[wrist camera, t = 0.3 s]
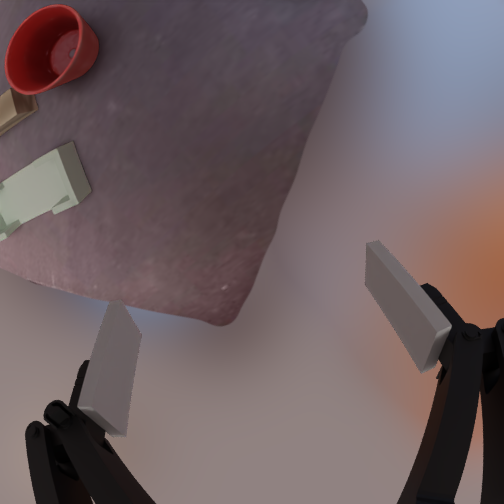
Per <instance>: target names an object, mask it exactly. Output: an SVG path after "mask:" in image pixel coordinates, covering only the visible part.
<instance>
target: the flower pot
mask: <svg viewBox="0 0 504 504" xmlns="http://www.w3.org/2000/svg"><path fill="white" fill-rule="evenodd" d="M98 51H99V42H98V38H97V36H96V35H95V33H94V32H93V30H92V29H91V28H90V26H89V25H88V24H87V23H86V21H85V20H84V19H83V18H82V17H81V15H80V14H79V13H78V12H77V11H76V10H75V9H73V8H72V7H70V6H67V5H63V4H55V5H49V6H46V7H43V8H41V9H39V10H37V11H35V12H34V13H32V14H31V15H30V16H29V17H27V18H26V19H25V20H24V21H23V22H22V24H21V25H20V26H19V27H18V29H17V30H16V32H15V33H14V35H13V37H12V38H11V40H10V43H9V45H8V48H7V51H6V56H5V73H6V77H7V80H8V82H9V84H10V85H11V87H12V88H13V89H14V90H16V91H17V92H19V93H21V94H25V95H34V94H39V93H42V92H45V91H47V90H50V89H52V88H55V87H57V86H60V85H62V84H64V83H67V82H69V81H71V80H74V79H76V78H78V77H80V76H82V75H83V74H85V73H86V72H87V71H88V70H89V69H90V68H91V67H92V65H93V64H94V62H95V60H96V58H97V55H98Z"/></svg>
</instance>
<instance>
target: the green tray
mask: <svg viewBox="0 0 504 504" xmlns="http://www.w3.org/2000/svg"><path fill="white" fill-rule="evenodd" d="M91 191H92V190H91V187H90V185H89V182H88V180H87V177H86V175H85V172H84V170H83V167H82V164H81V162H80V159H79V156H78V154H77V151H76V148H75V145H74V142H73V141H71V142H69V143H67V144H65V145H62V146H60V147H58V148H56V149H54V150H52V151H51V152H49V153H47V154H45V155H44V156H42V157H40V158H38V159H37V160H35V161H33V163H31V164H30V165H28V166H27V167H25V168H23V169H22V170H20V171H18V172H17V173H15V174H14V175H12V176H11V177H9V178H8V179H6V180H5V181H3V182H2V183H0V241H2V240H4V239H6V238H7V237H8V236H9V235H11V234H12V233H13V232H14V231H15V230H16V229H17V228H18V227H19V226H20V225H21V224H23V223H25V222H27V221H29V220H31V219H33V218H35V217H37V216H39V215H41V214H43V213H45V212H47V211H49V210H51V209H52V211H53V213H54V215H55V214H57V213H59V212H61V211H64V210H66V209H68V208H70V207H73V206H75V205H77V204H79V203H80V202H81V201H82V200H83V199H84V198H85V197H86V196H87V195H88V194H89V193H90V192H91Z"/></svg>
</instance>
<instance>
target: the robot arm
mask: <svg viewBox="0 0 504 504" xmlns="http://www.w3.org/2000/svg"><path fill="white" fill-rule="evenodd" d="M365 285H366V287H367V288H368V290H369V291H370V293H371V294H372V296H373V297H374V299H375V300H376V302H377V303H378V305H379V306H380V308H381V309H382V311H383V313H384V314H385V315H386V317H387V319H388V320H389V322H390V323H391V325H392V326H393V328H394V330H395V331H396V333H397V335H398V336H399V338H400V339H401V341H402V343H403V344H404V346H405V347H406V349H407V351H408V352H409V354H410V356H411V357H412V359H413V361H414V362H415V364H416V366H417V368H418V369H419V371H420V373H424V372H426V371H428V370H430V369H432V368H434V367H435V366H436V364H437V361H438V359H439V361H440V362H441V364H442V367H441V369H440V371H439V373H438V375H437V377H436V379H438V378H439V379H438V384H437V388H436V392H435V396H434V401H433V405H432V408H431V412H430V416H429V419H428V423H427V426H426V429H425V433H424V436H423V439H422V442H421V445H420V448H419V451H418V454H417V456H416V459H415V462H414V465H413V467H412V470H411V472H410V475H409V477H408V480H407V482H406V485H405V487H404V489H403V491H402V494H401V496H400V498H399V500H398V502H397V504H455V503H454V498H455V495H456V492H457V489H458V486H459V483H460V480H461V477H462V473H463V470H464V467H465V463H466V459H467V455H468V451H469V447H470V443H471V438H472V434H473V429H474V424H475V419H476V413H477V407H478V399H479V392H480V394H481V404H482V418H483V444H484V445H483V481H482V493H481V503H480V504H504V318H502V319H500V320H498V322H497V323H496V326H495V327H493V328H487V329H480V328H479V327H477V326H476V325H474V324H471V323H465V322H464V321H463V320H462V318H461V317H460V316H459V315H458V313H457V312H456V311H455V310H454V309H453V307H452V306H451V305H450V304H449V303H448V302H447V300H446V299H445V298H444V297H442V295H441V293H440V292H439V291H438V290H437V289H436V288H435V287H433V286H431V285H429V284H428V283H426V284H423V285H421V286H420V285H419V284H418V283H417V282H416V281H415V280H414V279H413V277H412V276H411V275H410V274H409V273H408V272H407V270H406V269H405V268H404V267H403V266H402V265H401V264H400V263H399V262H398V260H397V259H396V258H395V257H394V256H393V255H392V254H391V253H390V252H389V251H388V249H387V248H386V247H385V246H384V245H383V244H382V243H381V242H380V241H379V240H378V241H374V242H370V243H367V244H366V272H365ZM141 337H142V334H141V333H140V331H139V329H138V328H137V326H136V325H135V323H134V321H133V319H132V317H131V316H130V314H129V312H128V310H127V309H126V307H125V305H124V303H123V301H122V300H117V301H112V302H109V305H108V308H107V310H106V313H105V316H104V319H103V322H102V324H101V327H100V330H99V333H98V336H97V339H96V343H95V346H94V349H93V352H92V355H91V358H90V360H85V361H84V362H83V364H82V365H81V367H80V368H79V371H78V374H77V379H76V381H75V386H74V388H73V392H72V395H71V399H70V403H69V406H67V405H66V404H65V403H64V402H63V401H60V400H54V401H52V402H51V403H49V404H48V405H47V407H46V409H45V411H44V420H45V421H46V422H47V423H49V425H46V426H44V425H43V424H42V423H41V422H39V421H33V422H32V423H30V424H29V425H28V427H27V429H26V432H25V440H26V449H27V457H28V463H29V469H30V476H31V481H32V487H33V491H34V496H35V500H36V504H93V502H92V499H93V500H94V502H95V504H156V503H155V502H154V501H153V500H152V498H151V497H150V496H149V495H148V494H147V493H146V491H145V490H144V489H143V488H142V486H141V485H140V484H139V483H138V482H137V480H136V479H135V478H134V476H133V475H132V474H131V472H130V471H129V470H128V469H127V467H126V466H125V464H124V463H123V462H122V461H121V459H120V458H119V456H118V455H117V453H116V452H115V450H114V449H113V447H112V446H111V445H110V443H109V441H108V440H107V439H106V438H105V431H106V432H107V433H108V434H109V435H111V436H112V437H126V433H127V425H128V417H129V409H130V401H131V395H132V388H133V382H134V376H135V370H136V364H137V358H138V353H139V347H140V342H141ZM91 497H92V499H91Z"/></svg>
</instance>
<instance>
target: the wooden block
mask: <svg viewBox="0 0 504 504" xmlns="http://www.w3.org/2000/svg"><path fill="white" fill-rule="evenodd" d="M37 110H38V106H37V102H36V99H35V95H25V94H21V93H19V92H17V91H16V90H14V89H13V88H10V89H9V90H7V91H6V92H5V93H4V94H2V95H1V96H0V136H1V135H2V134H4V133H5V132H6V131H8V130H9V129H10V128H12V127H13V126H15V125H16V124H17V123H19V122H20V121H22V120H23V119H25V118H26V117H28V116H29V115H31V114H32V113H34V112H35V111H37Z"/></svg>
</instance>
